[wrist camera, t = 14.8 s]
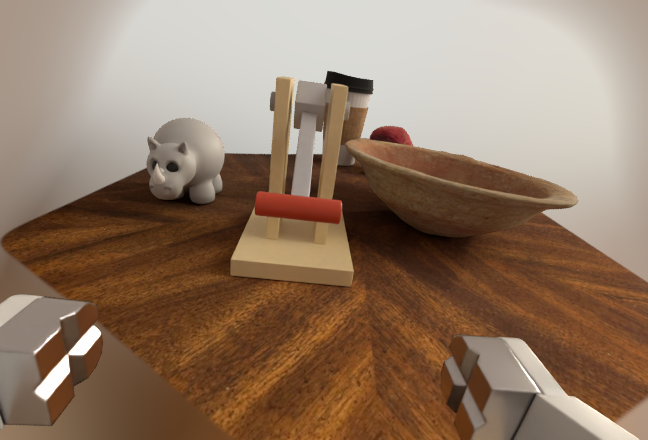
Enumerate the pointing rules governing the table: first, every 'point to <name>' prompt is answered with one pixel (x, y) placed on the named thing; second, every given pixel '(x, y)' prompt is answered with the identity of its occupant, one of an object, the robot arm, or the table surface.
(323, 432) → the table surface
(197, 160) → the chubby cartoon animal
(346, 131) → the coffee cup
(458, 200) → the bowl
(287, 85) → the wooden lever stand
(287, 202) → the lever
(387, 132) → the fruit
